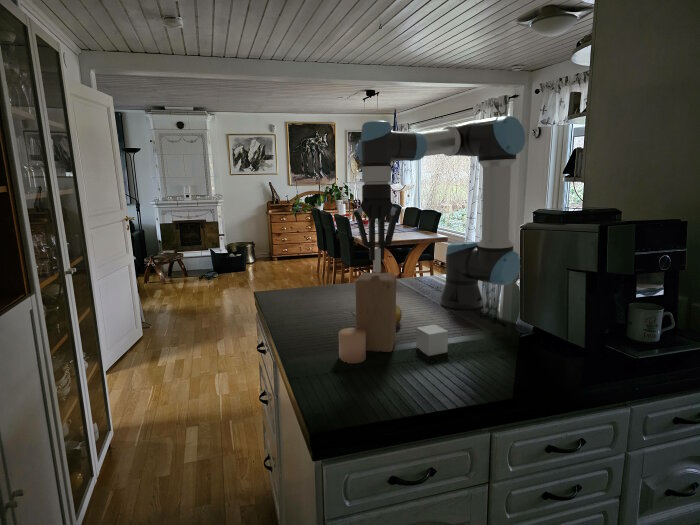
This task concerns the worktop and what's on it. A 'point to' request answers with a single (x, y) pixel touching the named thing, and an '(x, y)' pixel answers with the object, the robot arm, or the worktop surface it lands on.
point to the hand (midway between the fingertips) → (376, 271)
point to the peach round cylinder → (352, 345)
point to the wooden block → (377, 310)
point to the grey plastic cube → (432, 339)
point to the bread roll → (398, 314)
